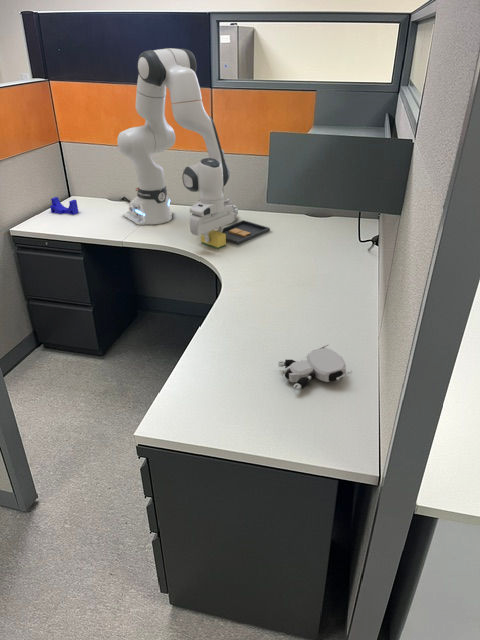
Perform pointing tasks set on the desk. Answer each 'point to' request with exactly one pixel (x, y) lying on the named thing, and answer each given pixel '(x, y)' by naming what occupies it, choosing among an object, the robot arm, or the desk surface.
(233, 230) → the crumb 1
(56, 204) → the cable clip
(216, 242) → the sponge
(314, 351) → the robot toy
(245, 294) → the desk surface
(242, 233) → the crumb
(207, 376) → the desk surface
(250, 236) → the tray
